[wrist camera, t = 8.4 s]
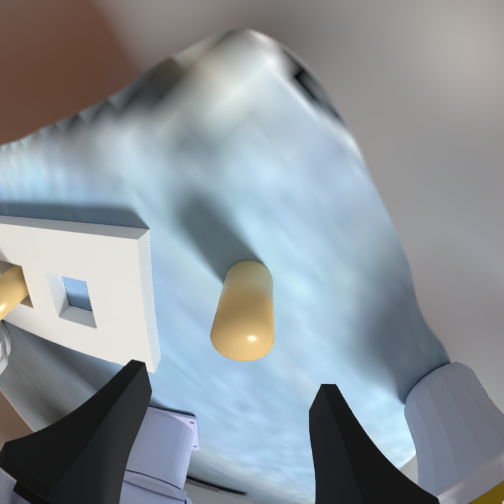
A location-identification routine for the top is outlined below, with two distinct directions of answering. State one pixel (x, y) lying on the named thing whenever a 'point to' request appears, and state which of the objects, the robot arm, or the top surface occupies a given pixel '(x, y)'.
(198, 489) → the light grey angular block
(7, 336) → the mug
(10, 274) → the peg
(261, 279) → the peg
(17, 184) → the top surface
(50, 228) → the housing
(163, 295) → the top surface
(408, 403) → the soap bottle
